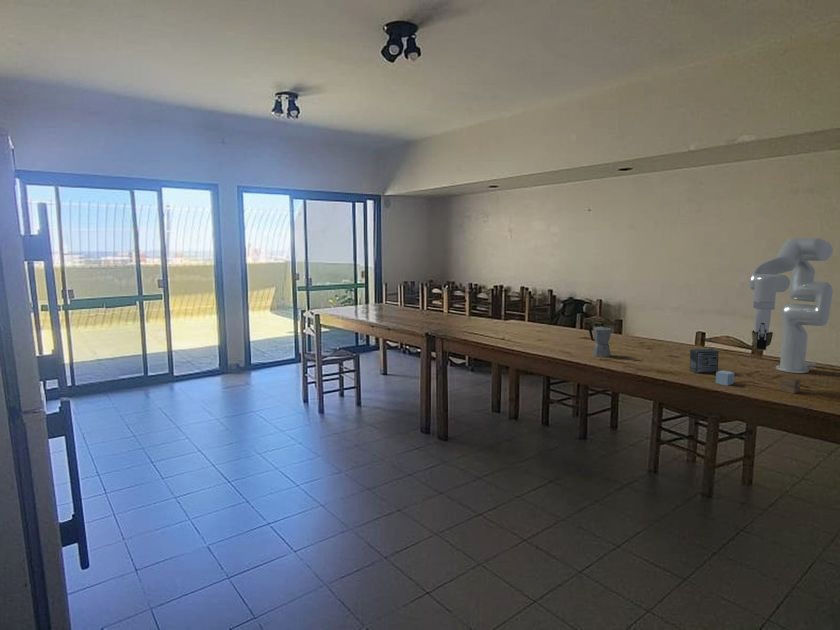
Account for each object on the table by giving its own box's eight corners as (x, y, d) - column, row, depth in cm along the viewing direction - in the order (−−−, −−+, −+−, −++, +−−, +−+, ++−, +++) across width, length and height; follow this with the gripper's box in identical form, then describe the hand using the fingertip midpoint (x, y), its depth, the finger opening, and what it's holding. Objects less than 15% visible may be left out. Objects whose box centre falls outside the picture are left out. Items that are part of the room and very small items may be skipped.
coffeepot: (617, 356, 277) (618, 323, 275) (606, 358, 272) (607, 325, 270) (593, 351, 290) (594, 320, 287) (582, 353, 285) (583, 322, 282)
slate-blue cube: (722, 381, 225) (722, 370, 224) (733, 383, 220) (734, 372, 220) (715, 383, 222) (716, 371, 222) (727, 385, 218) (727, 374, 217)
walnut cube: (786, 388, 212) (786, 377, 211) (799, 391, 208) (800, 379, 207) (779, 390, 209) (780, 378, 209) (793, 393, 205) (794, 381, 204)
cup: (766, 348, 218) (767, 329, 217) (775, 351, 211) (776, 333, 210) (747, 348, 219) (748, 330, 218) (755, 352, 212) (756, 333, 211)
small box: (710, 369, 245) (711, 348, 244) (718, 372, 239) (719, 351, 237) (688, 370, 245) (689, 348, 243) (696, 373, 238) (697, 351, 237)
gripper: (753, 302, 222) (751, 342, 224) (752, 307, 207) (750, 350, 210) (774, 303, 217) (772, 344, 220) (775, 308, 203) (772, 352, 206)
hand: (761, 346), depth 215 cm, fingers closed on cup, 6 cm apart
